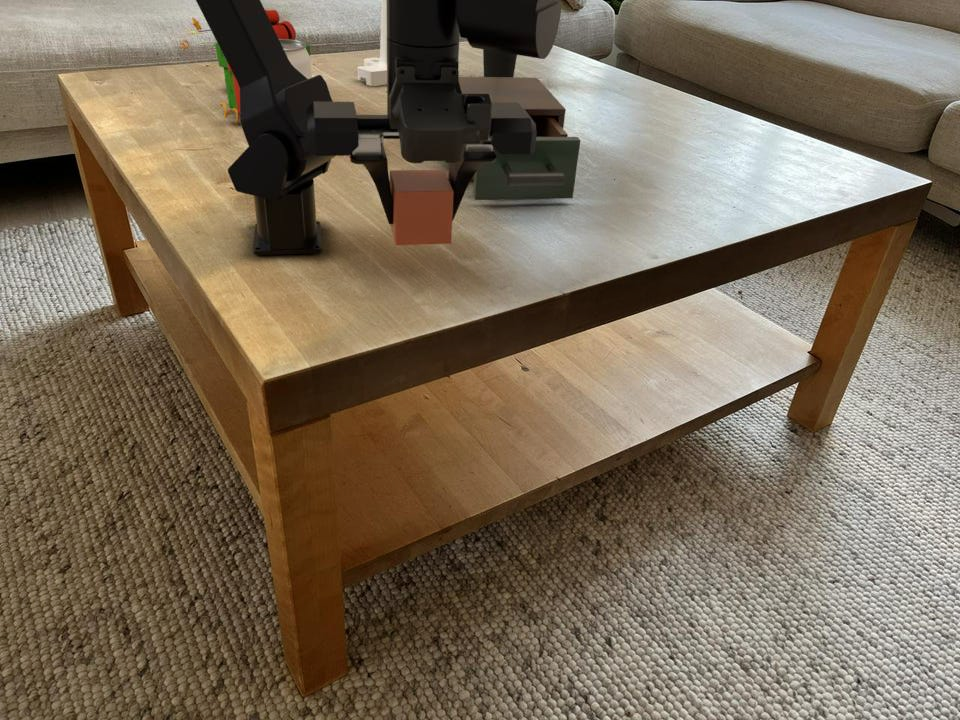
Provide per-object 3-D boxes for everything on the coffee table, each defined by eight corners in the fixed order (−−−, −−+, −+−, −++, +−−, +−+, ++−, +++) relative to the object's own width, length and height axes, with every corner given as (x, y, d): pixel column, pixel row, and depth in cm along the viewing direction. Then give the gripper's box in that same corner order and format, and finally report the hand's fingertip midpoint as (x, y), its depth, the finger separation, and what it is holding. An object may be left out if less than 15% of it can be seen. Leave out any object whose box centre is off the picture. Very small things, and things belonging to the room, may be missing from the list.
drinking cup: (469, 85, 127) (476, -51, 116) (482, 74, 133) (490, -56, 122) (514, 91, 125) (525, -45, 114) (525, 80, 131) (537, -51, 120)
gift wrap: (280, 103, 119) (271, 1, 112) (355, 121, 107) (349, 8, 101) (156, 118, 106) (137, 4, 99) (225, 140, 94) (209, 13, 88)
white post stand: (376, 87, 122) (374, -53, 111) (343, 77, 126) (338, -60, 115) (422, 75, 130) (425, -57, 118) (390, 66, 133) (389, -64, 122)
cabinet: (557, 178, 95) (565, 109, 90) (457, 180, 92) (460, 108, 87) (530, 141, 105) (536, 77, 101) (440, 142, 103) (442, 76, 98)
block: (451, 243, 68) (453, 190, 65) (395, 245, 67) (395, 191, 64) (442, 220, 72) (444, 169, 69) (389, 221, 71) (389, 170, 68)
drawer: (583, 213, 84) (592, 153, 80) (482, 216, 82) (486, 154, 78) (544, 159, 97) (550, 105, 94) (456, 160, 95) (458, 105, 91)
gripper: (302, 63, 52) (316, 267, 61) (565, 67, 55) (542, 259, 64) (301, 27, 61) (313, 210, 70) (528, 33, 64) (512, 206, 73)
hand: (419, 221), depth 69 cm, fingers closed on block, 5 cm apart
